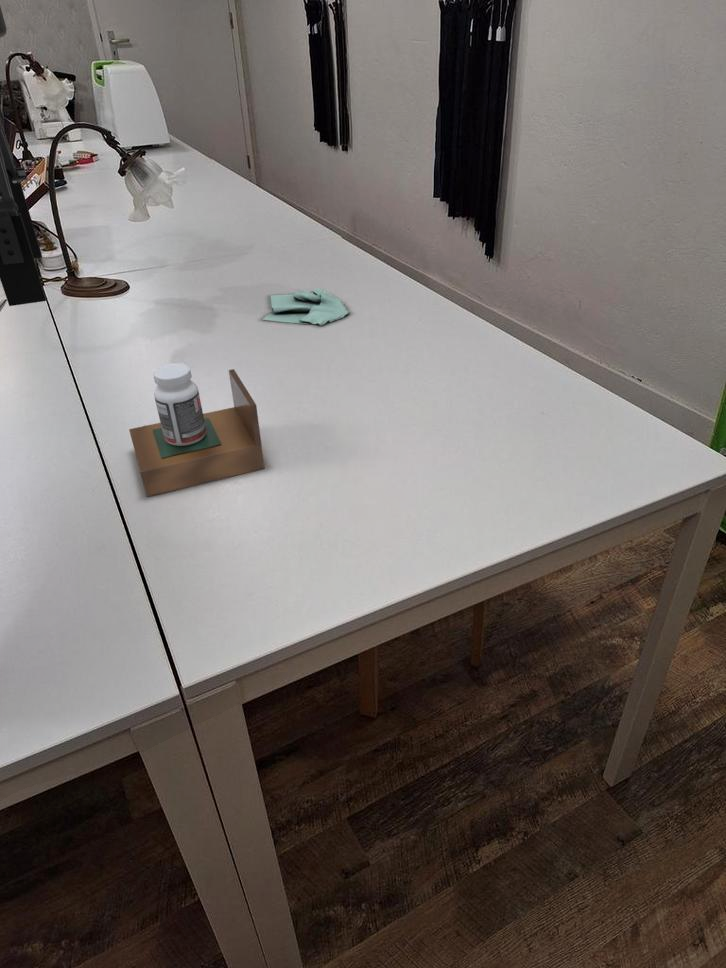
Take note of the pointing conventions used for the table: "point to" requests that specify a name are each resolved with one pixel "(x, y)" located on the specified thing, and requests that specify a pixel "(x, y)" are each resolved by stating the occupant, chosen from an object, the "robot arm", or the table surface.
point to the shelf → (202, 447)
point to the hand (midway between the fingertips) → (27, 278)
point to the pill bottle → (178, 405)
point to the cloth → (306, 308)
